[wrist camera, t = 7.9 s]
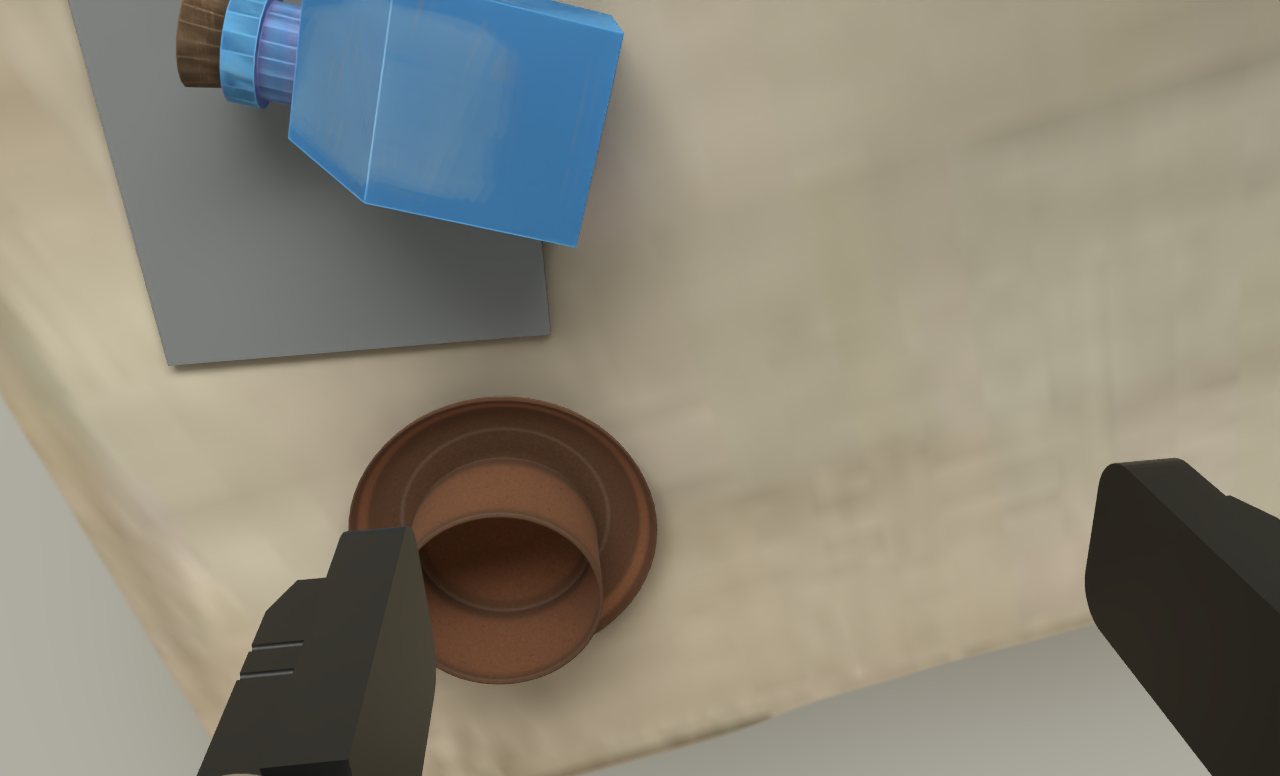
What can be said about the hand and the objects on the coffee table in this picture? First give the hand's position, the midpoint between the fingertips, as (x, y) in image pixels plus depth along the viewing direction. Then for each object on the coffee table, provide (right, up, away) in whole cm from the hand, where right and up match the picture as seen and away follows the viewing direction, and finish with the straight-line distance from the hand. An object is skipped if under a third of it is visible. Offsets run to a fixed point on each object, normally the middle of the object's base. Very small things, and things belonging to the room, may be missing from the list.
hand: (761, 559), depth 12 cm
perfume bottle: (-3, +10, +20) cm, 22 cm away
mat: (-12, +10, +23) cm, 28 cm away
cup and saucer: (-7, -3, +30) cm, 31 cm away
